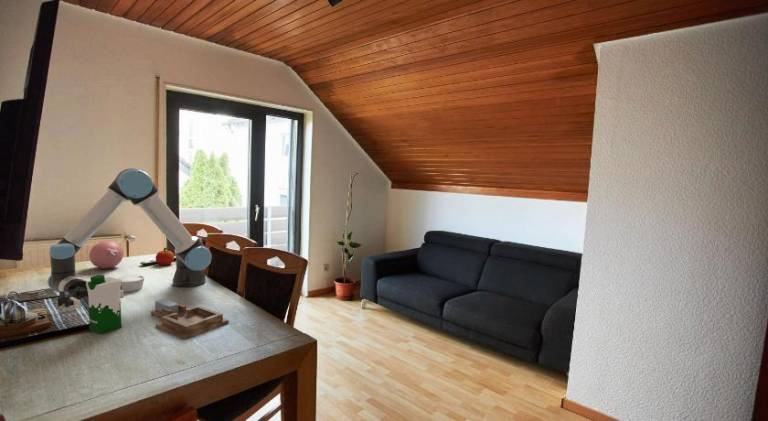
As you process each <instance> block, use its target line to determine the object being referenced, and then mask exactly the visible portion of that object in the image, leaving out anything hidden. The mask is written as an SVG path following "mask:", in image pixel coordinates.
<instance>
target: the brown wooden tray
mask: <svg viewBox="0 0 768 421" xmlns="http://www.w3.org/2000/svg"><path fill="white" fill-rule="evenodd" d="M177 304H178V306H179V312H178V313H173V314H172V310H170V309H168V308H162V312H160V311H158V310H151V311H150V314H151V315H152V316H155V317H157V318H160V319H161V321H160V322H157V323H155V328H157V329H159V330H161V331H162V330H163V331H164V332H166V333H168V334H171V335H173V336H176V337H179V338H180V339H183V340H187V339H190V338H193V337H194V336H195V337H196V336H198V335H201V334H203V333H206V332H208V331H211V330H213V329H216V328H219V327H221V326H223V325H227V324H229V323H230V322H229V321H230V320H229V319H228V318H225V317H224V314H223V313H221V312H218V311H215V310H212V309H210V308H206V307H204V306H201V305H196V306H192V307H190V308H187V306H186V305H184V304H181V303H177Z"/></svg>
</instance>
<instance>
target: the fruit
mask: <svg viewBox="0 0 768 421" xmlns="http://www.w3.org/2000/svg"><path fill="white" fill-rule="evenodd" d="M168 249H169V247H164V248H163V250H160V251H158V252H157V253H156V255H155V261H156V263H157V264H158V265H160V266H169V265H171V264H172V263H173V262H174V261H175V254H174V253H173V252H172V251H171V250H168Z"/></svg>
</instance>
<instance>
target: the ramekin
mask: <svg viewBox="0 0 768 421" xmlns="http://www.w3.org/2000/svg"><path fill="white" fill-rule="evenodd" d="M116 279H119V280H122V282H121V286H122V291H124V293H128V292H129V293H130V292H135V291H136V292H137V291H140V290H141V289H142V288H143V286H144V280H145V276H143V275H141V274H131V275H124V276H120V277H118V278H116Z"/></svg>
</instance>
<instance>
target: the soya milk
mask: <svg viewBox="0 0 768 421" xmlns="http://www.w3.org/2000/svg"><path fill="white" fill-rule="evenodd" d="M121 282H122V280H119V279H117V278H115V277H111V276H108V277H105V275H103V274H100V275H99V274H97V275H92V276H91V277H90V280H89V281H87V282H86V285H87V290H88V296H87V297H88V319H89V323H88V325H89V331H90V332H93V333H95V334H99V335H104V334H106V333H110V332H112V331H116V330H118V329H121V328H122V327H123V325H122V307H121V306H122V305H121V303H122V301H121V299H122V298H120V288H121Z"/></svg>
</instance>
